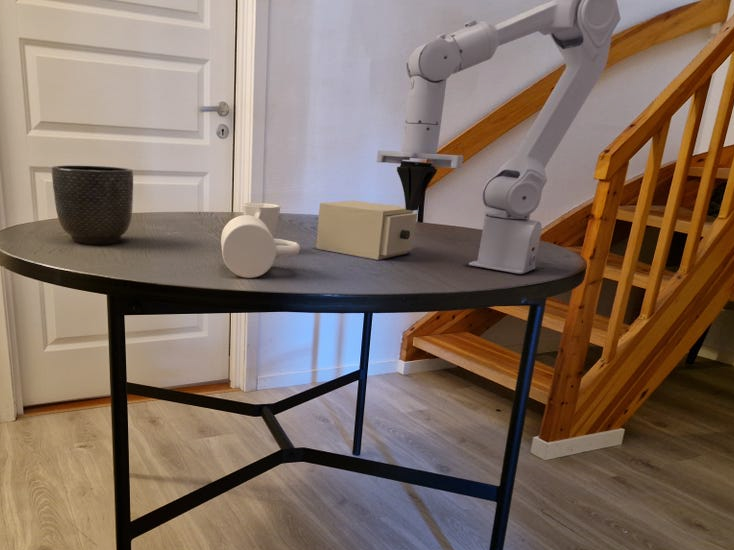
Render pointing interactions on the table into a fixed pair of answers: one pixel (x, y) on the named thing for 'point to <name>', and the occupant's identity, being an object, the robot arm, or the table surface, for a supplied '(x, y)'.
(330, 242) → the cabinet
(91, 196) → the planter
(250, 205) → the cup
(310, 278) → the table surface
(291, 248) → the mug
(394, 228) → the drawer
